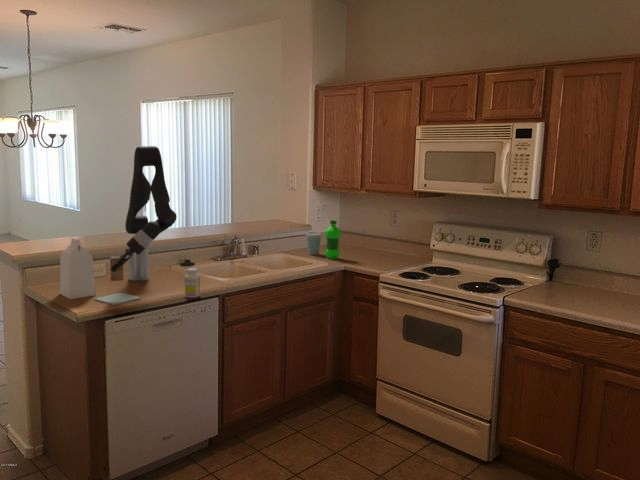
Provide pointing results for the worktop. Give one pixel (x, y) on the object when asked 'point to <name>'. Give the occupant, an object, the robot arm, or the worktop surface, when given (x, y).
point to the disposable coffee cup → (313, 242)
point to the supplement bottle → (192, 283)
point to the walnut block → (119, 272)
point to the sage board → (117, 298)
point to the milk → (76, 271)
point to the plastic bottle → (332, 240)
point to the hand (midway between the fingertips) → (112, 269)
